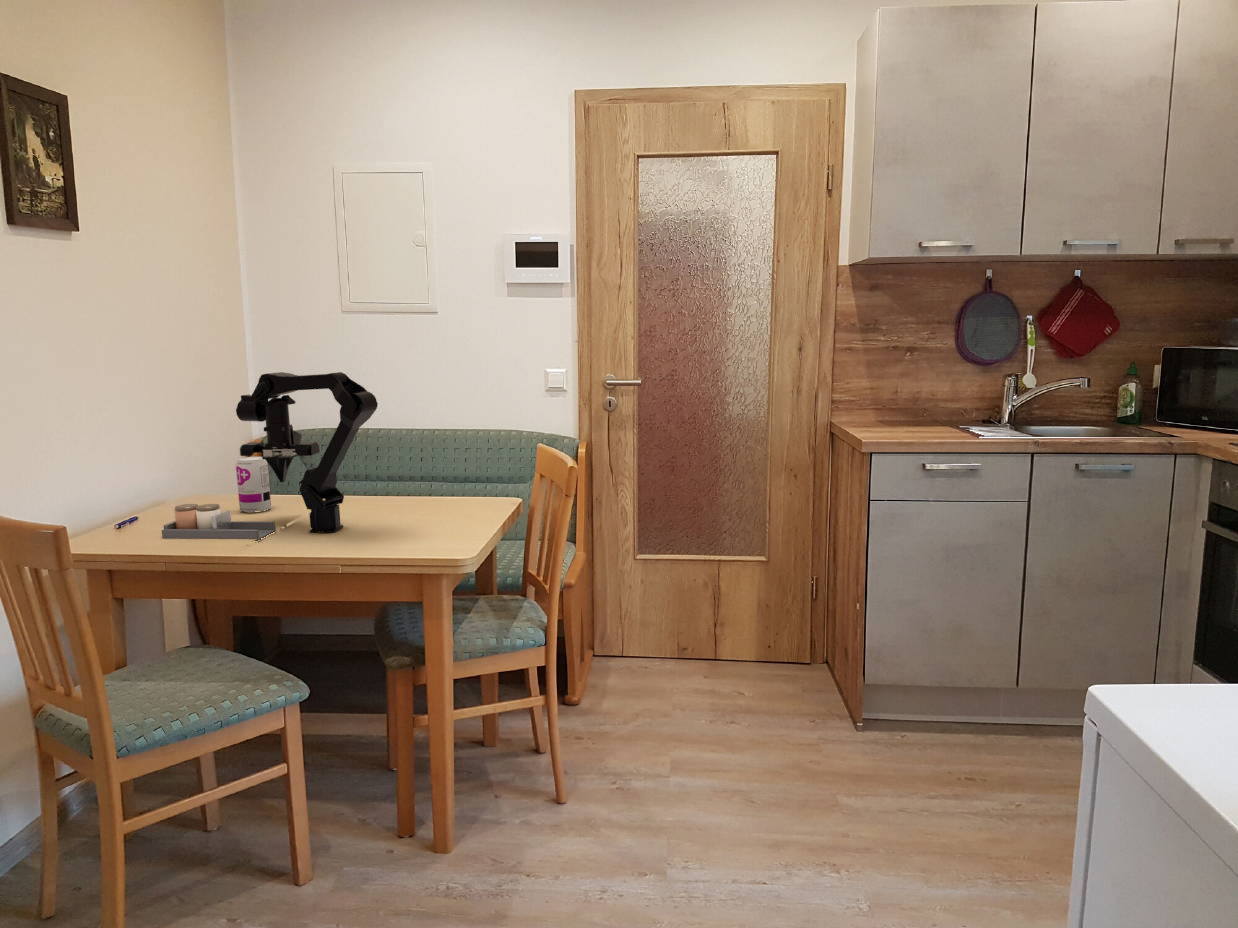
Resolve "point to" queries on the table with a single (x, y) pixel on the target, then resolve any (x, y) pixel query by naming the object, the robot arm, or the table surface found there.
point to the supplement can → (253, 484)
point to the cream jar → (206, 515)
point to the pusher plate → (222, 520)
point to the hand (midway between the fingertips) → (282, 481)
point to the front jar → (186, 516)
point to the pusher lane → (222, 531)
